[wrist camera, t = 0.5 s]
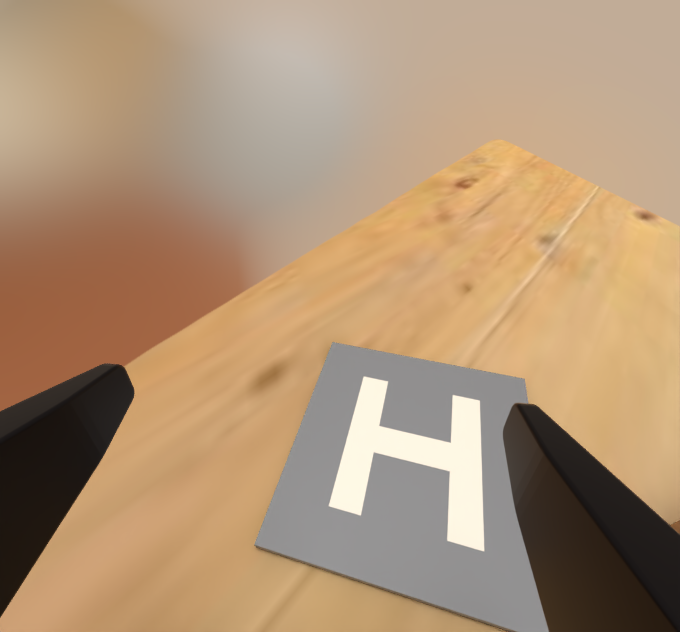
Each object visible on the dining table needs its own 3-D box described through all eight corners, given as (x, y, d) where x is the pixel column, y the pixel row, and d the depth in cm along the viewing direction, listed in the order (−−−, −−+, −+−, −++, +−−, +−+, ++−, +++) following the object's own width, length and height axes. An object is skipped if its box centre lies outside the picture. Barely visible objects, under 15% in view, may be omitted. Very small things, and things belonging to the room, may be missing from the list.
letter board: (558, 647, 17) (564, 646, 16) (256, 547, 20) (254, 544, 19) (521, 383, 28) (524, 378, 27) (332, 346, 31) (332, 341, 31)
